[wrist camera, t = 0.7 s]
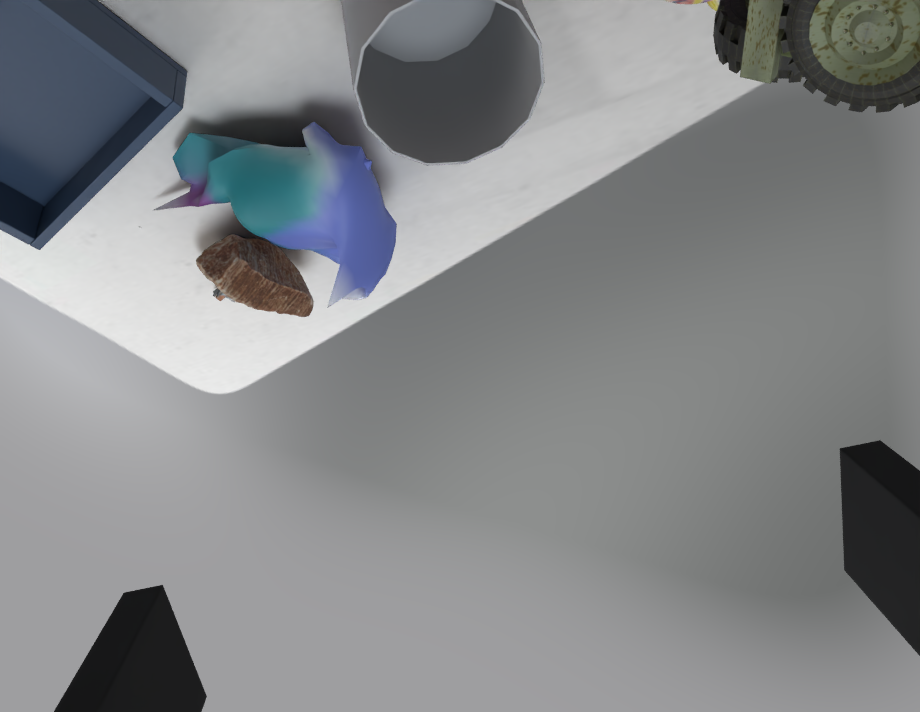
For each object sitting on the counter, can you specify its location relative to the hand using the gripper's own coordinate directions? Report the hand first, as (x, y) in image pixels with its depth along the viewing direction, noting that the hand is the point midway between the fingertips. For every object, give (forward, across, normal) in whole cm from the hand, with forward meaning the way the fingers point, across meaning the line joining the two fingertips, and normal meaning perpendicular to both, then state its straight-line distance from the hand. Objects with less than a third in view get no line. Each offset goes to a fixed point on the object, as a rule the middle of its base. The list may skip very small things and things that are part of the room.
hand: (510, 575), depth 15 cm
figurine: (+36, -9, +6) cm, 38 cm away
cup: (+32, +1, +14) cm, 35 cm away
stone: (+38, -12, +2) cm, 40 cm away
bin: (+32, -20, +13) cm, 40 cm away
